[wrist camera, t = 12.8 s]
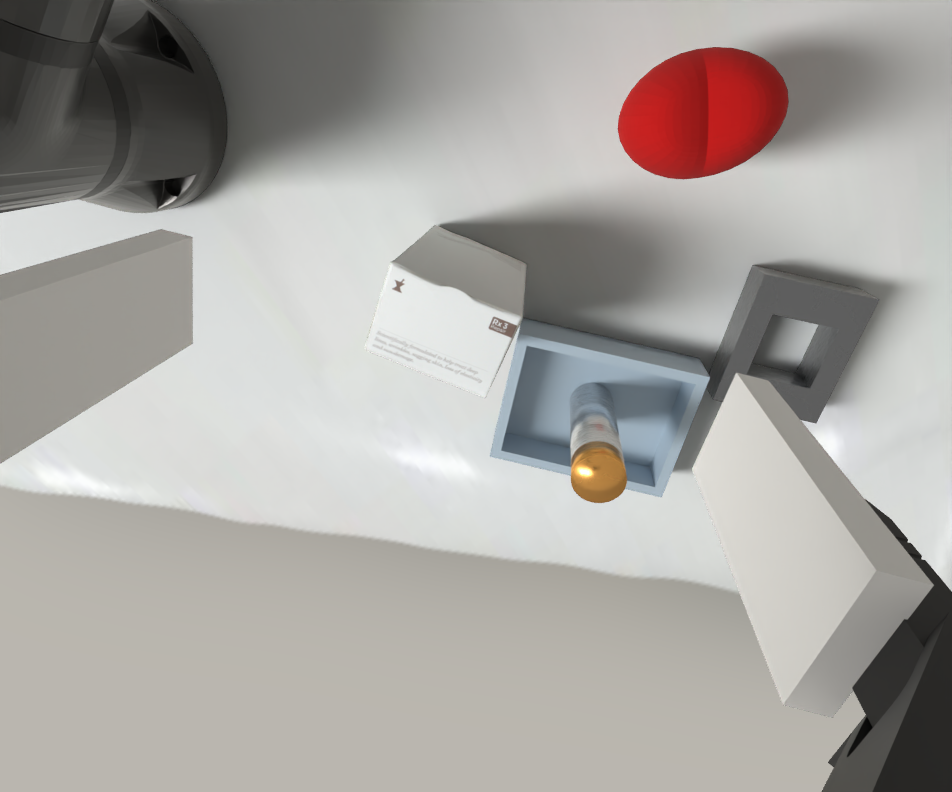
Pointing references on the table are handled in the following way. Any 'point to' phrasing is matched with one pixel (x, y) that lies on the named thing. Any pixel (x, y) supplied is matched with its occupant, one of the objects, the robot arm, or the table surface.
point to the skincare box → (449, 310)
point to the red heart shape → (702, 112)
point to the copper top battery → (595, 445)
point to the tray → (633, 390)
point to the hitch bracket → (799, 299)
